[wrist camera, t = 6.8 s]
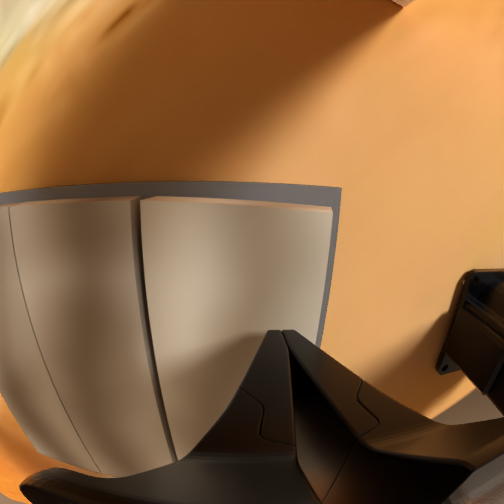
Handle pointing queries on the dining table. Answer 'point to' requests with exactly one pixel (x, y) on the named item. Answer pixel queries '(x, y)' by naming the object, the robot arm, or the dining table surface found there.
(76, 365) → the laid planks
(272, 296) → the loose plank
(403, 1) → the milk
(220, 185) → the underlay mat
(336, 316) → the dining table surface
